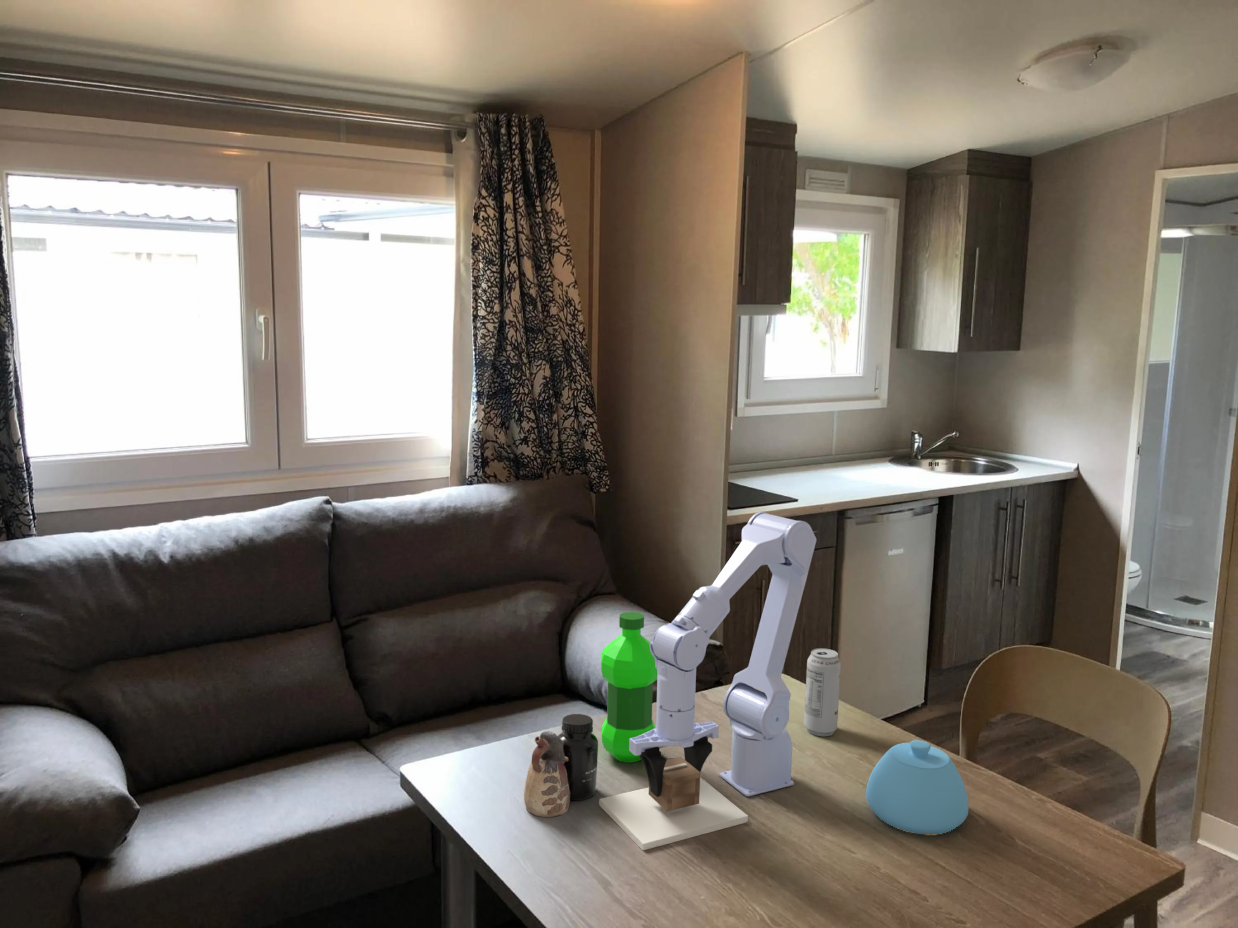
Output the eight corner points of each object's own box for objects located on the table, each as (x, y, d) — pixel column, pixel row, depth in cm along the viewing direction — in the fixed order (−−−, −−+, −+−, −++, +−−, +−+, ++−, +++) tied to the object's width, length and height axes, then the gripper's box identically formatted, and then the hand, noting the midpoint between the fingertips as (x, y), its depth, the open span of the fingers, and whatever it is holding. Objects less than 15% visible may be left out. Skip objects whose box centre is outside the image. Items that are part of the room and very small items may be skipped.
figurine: (580, 806, 144) (581, 732, 142) (544, 822, 139) (545, 746, 137) (550, 789, 149) (550, 717, 147) (514, 804, 144) (515, 731, 142)
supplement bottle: (596, 802, 145) (598, 728, 144) (552, 801, 145) (554, 727, 144) (596, 781, 152) (599, 711, 151) (554, 780, 152) (556, 709, 151)
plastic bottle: (655, 741, 167) (658, 606, 163) (659, 769, 157) (663, 625, 153) (599, 741, 167) (601, 606, 163) (599, 769, 156) (602, 625, 153)
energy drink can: (842, 736, 171) (847, 657, 169) (811, 738, 170) (816, 659, 167) (828, 722, 177) (832, 646, 175) (798, 724, 176) (802, 648, 173)
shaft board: (698, 781, 153) (698, 755, 152) (747, 821, 141) (748, 793, 140) (599, 804, 145) (599, 777, 144) (642, 850, 132) (643, 820, 132)
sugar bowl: (983, 814, 145) (989, 743, 143) (941, 852, 134) (946, 776, 132) (893, 780, 155) (897, 714, 153) (847, 813, 144) (851, 742, 142)
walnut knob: (679, 786, 146) (681, 754, 145) (699, 803, 141) (700, 770, 140) (648, 794, 143) (649, 761, 143) (667, 811, 138) (668, 778, 138)
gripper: (646, 722, 133) (643, 811, 135) (731, 705, 140) (727, 790, 142) (623, 704, 140) (621, 790, 142) (705, 689, 146) (702, 771, 148)
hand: (673, 789), depth 142 cm, fingers closed on walnut knob, 5 cm apart
